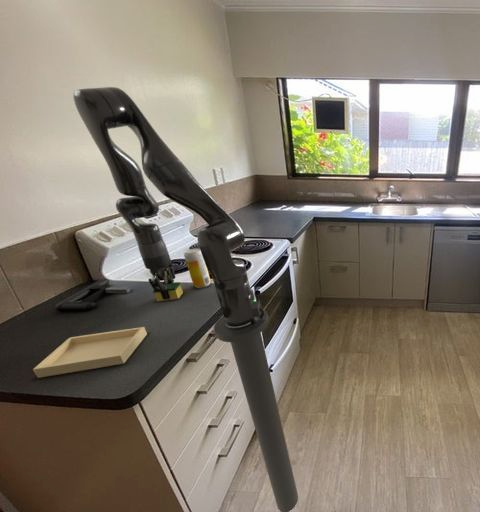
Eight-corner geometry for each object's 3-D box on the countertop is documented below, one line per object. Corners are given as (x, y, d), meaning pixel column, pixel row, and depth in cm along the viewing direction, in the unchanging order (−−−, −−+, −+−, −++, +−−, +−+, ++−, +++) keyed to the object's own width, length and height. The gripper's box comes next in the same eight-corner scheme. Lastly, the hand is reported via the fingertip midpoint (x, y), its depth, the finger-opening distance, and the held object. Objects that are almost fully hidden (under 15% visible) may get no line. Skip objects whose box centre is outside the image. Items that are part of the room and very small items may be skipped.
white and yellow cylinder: (201, 281, 119) (191, 247, 113) (214, 281, 118) (205, 248, 112) (190, 288, 114) (179, 253, 108) (204, 289, 113) (193, 254, 107)
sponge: (183, 292, 110) (179, 282, 109) (178, 298, 106) (174, 288, 105) (162, 295, 109) (158, 284, 107) (156, 301, 105) (152, 290, 103)
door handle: (139, 278, 117) (97, 278, 116) (97, 305, 99) (47, 305, 97) (142, 285, 118) (100, 285, 117) (101, 313, 100) (51, 313, 99)
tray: (147, 334, 88) (144, 326, 86) (124, 363, 76) (120, 355, 75) (73, 345, 83) (69, 337, 82) (37, 378, 72) (32, 369, 71)
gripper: (157, 260, 95) (173, 303, 102) (174, 245, 108) (187, 284, 115) (131, 262, 93) (149, 307, 100) (152, 247, 106) (166, 287, 113)
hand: (169, 295), depth 107 cm, fingers closed on sponge, 4 cm apart
